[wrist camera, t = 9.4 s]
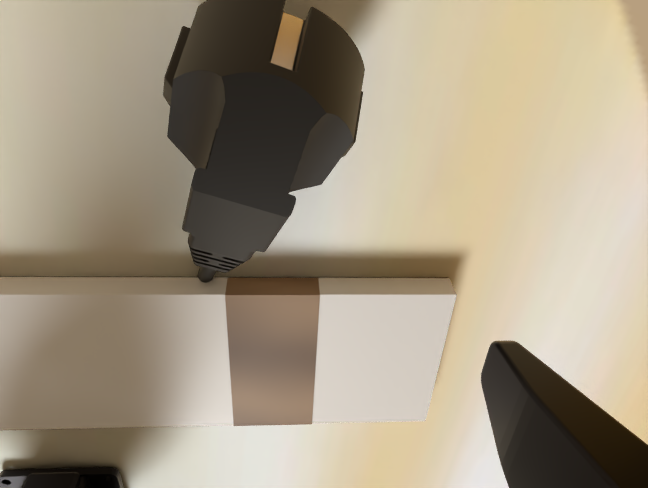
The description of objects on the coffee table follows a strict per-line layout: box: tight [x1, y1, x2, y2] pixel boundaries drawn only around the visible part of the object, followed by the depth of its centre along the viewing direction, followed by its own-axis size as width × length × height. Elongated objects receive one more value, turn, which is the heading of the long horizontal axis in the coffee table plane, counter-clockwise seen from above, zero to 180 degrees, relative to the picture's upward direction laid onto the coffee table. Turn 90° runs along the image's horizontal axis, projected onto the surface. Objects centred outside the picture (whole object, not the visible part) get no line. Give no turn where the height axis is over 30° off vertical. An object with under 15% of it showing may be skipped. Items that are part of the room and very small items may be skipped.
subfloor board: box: [0, 277, 457, 430], centre depth 24 cm, size 8×28×1 cm, turn 87°
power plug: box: [163, 0, 365, 283], centre depth 18 cm, size 6×8×12 cm
